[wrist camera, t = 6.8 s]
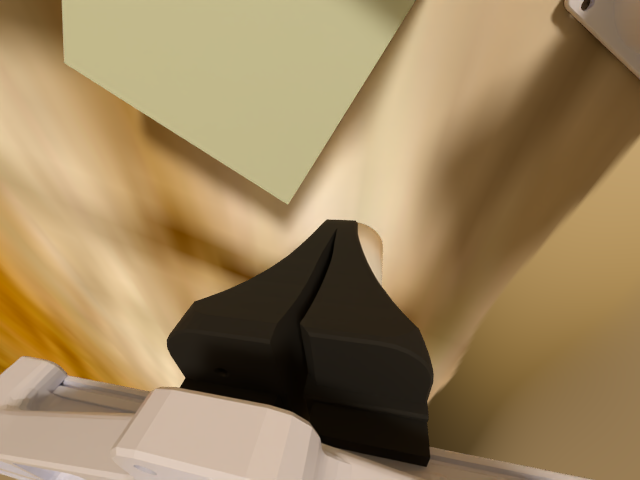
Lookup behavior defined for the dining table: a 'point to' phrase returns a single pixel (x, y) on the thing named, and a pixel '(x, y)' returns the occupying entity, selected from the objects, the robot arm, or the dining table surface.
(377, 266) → the cream rounded piece
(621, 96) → the dining table surface
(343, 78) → the lid
